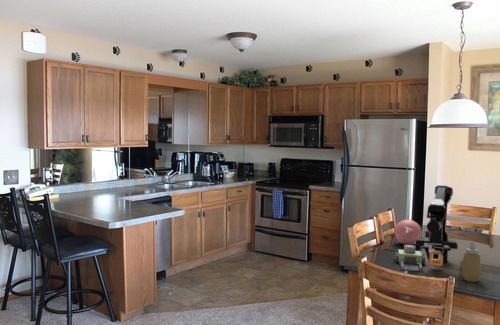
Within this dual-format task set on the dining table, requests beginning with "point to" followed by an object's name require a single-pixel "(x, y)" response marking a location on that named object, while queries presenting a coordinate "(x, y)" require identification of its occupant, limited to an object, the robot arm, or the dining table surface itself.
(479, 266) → the squeeze bottle
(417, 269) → the chute bracket
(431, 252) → the chute
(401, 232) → the pink rounded piece
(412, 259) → the mower deck
